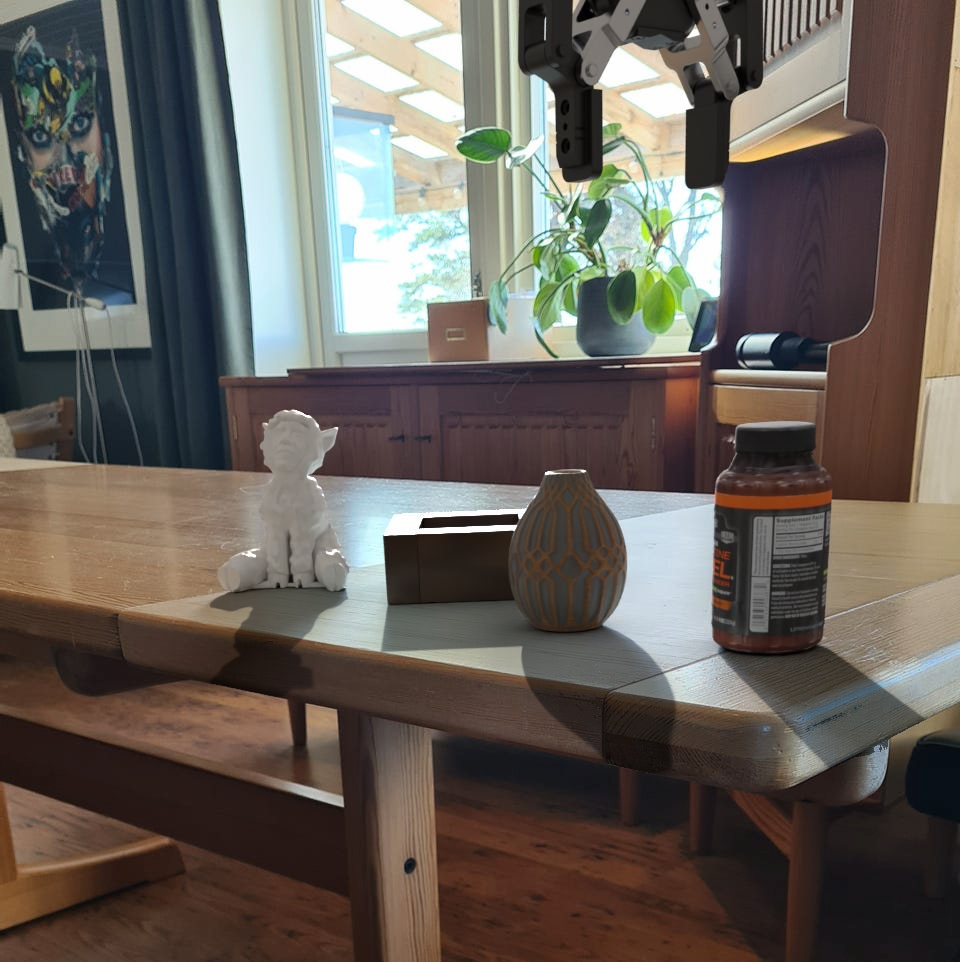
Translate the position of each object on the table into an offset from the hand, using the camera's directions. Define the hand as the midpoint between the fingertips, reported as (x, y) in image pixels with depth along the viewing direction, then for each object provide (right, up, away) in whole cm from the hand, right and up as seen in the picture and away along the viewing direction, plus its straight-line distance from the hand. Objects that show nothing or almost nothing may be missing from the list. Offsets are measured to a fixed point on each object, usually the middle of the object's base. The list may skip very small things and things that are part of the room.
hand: (646, 184), depth 64 cm
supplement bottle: (+7, -23, +5) cm, 24 cm away
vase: (-3, -20, +12) cm, 24 cm away
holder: (-9, -15, +25) cm, 31 cm away
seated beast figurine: (-22, -14, +30) cm, 40 cm away
